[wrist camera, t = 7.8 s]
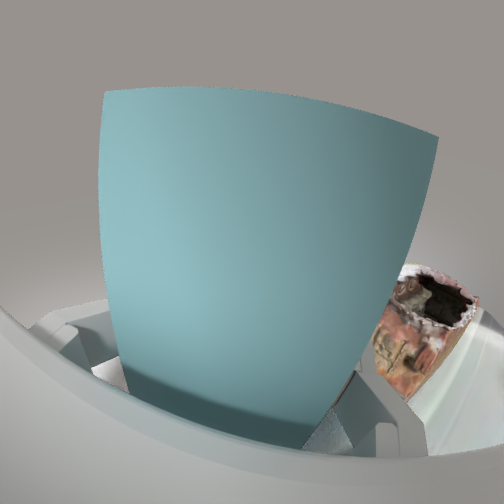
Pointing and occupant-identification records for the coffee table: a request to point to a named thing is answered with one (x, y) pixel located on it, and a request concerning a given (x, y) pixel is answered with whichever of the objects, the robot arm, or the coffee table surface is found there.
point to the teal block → (251, 248)
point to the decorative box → (420, 327)
